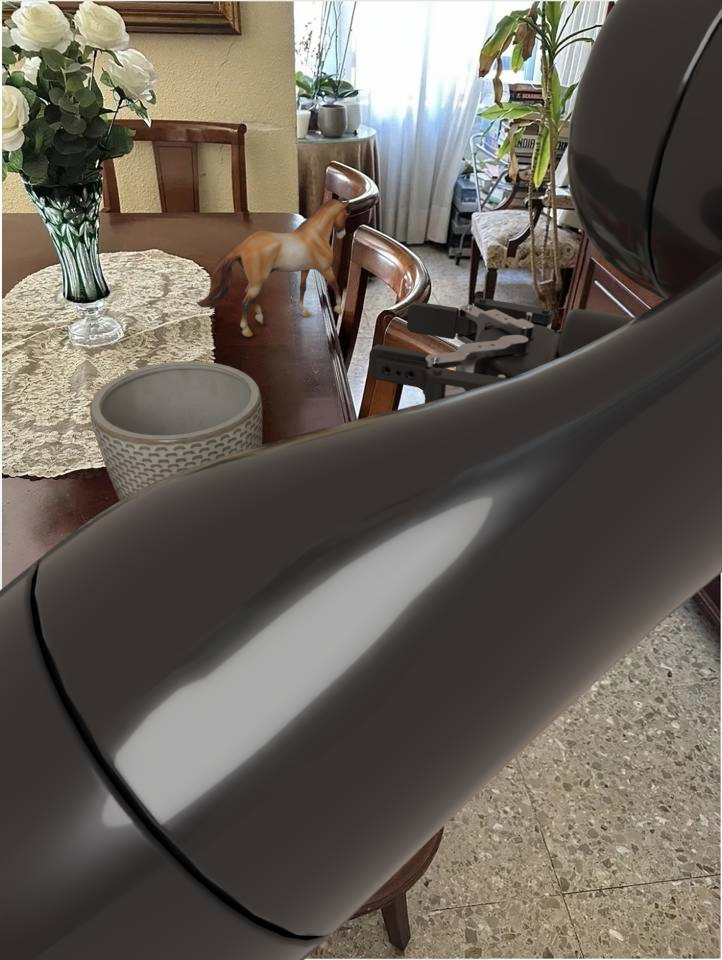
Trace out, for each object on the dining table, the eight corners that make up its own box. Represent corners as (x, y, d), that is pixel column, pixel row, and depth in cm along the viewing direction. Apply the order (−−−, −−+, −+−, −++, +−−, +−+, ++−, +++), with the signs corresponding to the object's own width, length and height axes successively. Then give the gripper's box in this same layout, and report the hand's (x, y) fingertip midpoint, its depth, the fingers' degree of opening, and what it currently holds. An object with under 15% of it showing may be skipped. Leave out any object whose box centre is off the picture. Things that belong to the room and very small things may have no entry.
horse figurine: (343, 302, 135) (344, 195, 123) (364, 314, 130) (367, 204, 118) (199, 332, 121) (184, 214, 109) (216, 347, 116) (202, 225, 104)
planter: (191, 460, 87) (174, 347, 78) (299, 503, 80) (294, 385, 71) (85, 532, 75) (50, 408, 65) (201, 590, 68) (180, 460, 58)
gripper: (647, 286, 46) (422, 256, 50) (643, 370, 35) (356, 322, 39) (619, 383, 50) (415, 347, 55) (608, 484, 39) (354, 430, 44)
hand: (390, 337), depth 47 cm, fingers open, 8 cm apart
